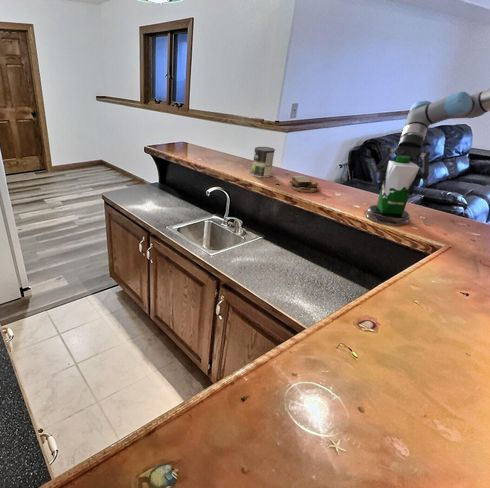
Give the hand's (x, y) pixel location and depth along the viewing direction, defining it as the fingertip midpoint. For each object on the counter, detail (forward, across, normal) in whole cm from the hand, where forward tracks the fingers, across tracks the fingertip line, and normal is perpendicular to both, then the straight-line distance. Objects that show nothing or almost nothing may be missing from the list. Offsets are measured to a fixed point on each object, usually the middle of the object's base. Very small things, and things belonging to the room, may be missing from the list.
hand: (395, 190), depth 127 cm
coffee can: (-15, +62, -33) cm, 72 cm away
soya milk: (+4, 0, -9) cm, 10 cm away
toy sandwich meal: (-7, +37, -25) cm, 45 cm away
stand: (+6, 0, -11) cm, 13 cm away
